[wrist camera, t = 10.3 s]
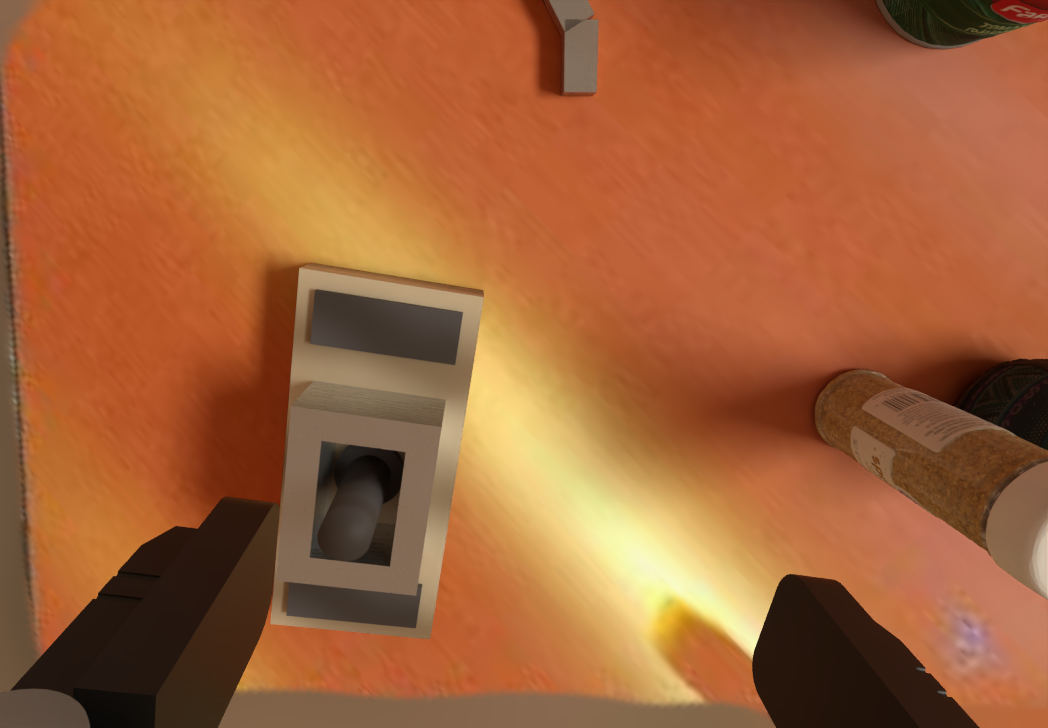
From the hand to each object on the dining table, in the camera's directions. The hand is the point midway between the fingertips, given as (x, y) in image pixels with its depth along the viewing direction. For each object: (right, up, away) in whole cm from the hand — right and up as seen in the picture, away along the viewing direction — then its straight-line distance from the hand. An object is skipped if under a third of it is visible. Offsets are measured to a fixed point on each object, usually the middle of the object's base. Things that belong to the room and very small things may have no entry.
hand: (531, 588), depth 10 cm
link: (-7, -1, +20) cm, 21 cm away
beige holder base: (-7, -1, +22) cm, 23 cm away
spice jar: (+17, +1, +23) cm, 29 cm away
